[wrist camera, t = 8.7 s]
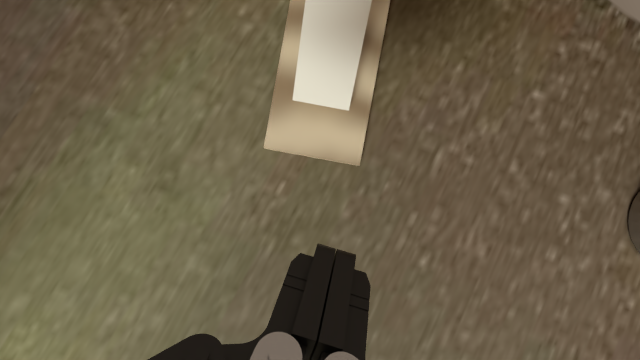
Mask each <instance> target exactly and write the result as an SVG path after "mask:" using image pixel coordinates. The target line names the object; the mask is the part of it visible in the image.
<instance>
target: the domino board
mask: <svg viewBox="0 0 640 360" xmlns="http://www.w3.org/2000/svg"><path fill="white" fill-rule="evenodd" d="M389 5H390V0H372V2H371V7H370V12H369V17H368V21H367V26H366V31H365V36H364V40H363V45H362V50H361V55H360V60H359V64H358V69H357V74H356V79H355V83H354V88H353V93H352V98H351V102H350V107H349V111H348V110H342V109H337V108H331V107H326V106H321V105H315V104H310V103H305V102H299V101H294V100H292V99H293V92H294V84H295V76H296V69H297V61H298V53H299V46H300V38H301V30H302V23H303V15H304V7H305V0H290V5H289V11H288V16H287V22H286V27H285V33H284V38H283V44H282V49H281V55H280V60H279V66H278V71H277V77H276V82H275V88H274V93H273V99H272V104H271V110H270V115H269V121H268V126H267V132H266V137H265V143H264V148H265V149H270V150H275V151H281V152H286V153H292V154H297V155H303V156H308V157H313V158H319V159H324V160H330V161H335V162H340V163H346V164H351V165H357V166H359V165H360V161H361V156H362V150H363V145H364V139H365V134H366V129H367V123H368V118H369V113H370V107H371V102H372V96H373V91H374V86H375V80H376V75H377V69H378V64H379V59H380V53H381V48H382V43H383V37H384V32H385V26H386V21H387V16H388V10H389Z"/></svg>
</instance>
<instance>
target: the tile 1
mask: <svg viewBox="0 0 640 360" xmlns="http://www.w3.org/2000/svg"><path fill="white" fill-rule="evenodd" d="M371 2H372V0H305V7H304V15H303V23H302V30H301V38H300V46H299V53H298V61H297V69H296V76H295V84H294V92H293V99H292V100H294V101H299V102H305V103H310V104H315V105H321V106H326V107H331V108H337V109H342V110H348V111H349V107H350V102H351V98H352V93H353V88H354V83H355V79H356V74H357V69H358V64H359V60H360V55H361V50H362V45H363V40H364V36H365V31H366V26H367V21H368V17H369V12H370V7H371Z"/></svg>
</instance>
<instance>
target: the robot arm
mask: <svg viewBox="0 0 640 360" xmlns="http://www.w3.org/2000/svg"><path fill="white" fill-rule="evenodd" d="M628 225H629V233H630V236H631V240H632V242H633V244H634V246H635V247H636V249H637V250H638V252H639V253H640V191H639V192H638V194H637V196H636V197H635V199H634V201H633V203H632V206H631V208H630V212H629V219H628ZM335 251H336V249H335V248H332V247H328V246H325V245H322V244H317V248H316V251H315V254H314V257H312V256H309V255H305V254H302V253H300V254H299V255H298V256H297V257H296V258H295V259H294V260H293V261H292V262H291V264H290V266H289V269H288V272H287V275H286V277H285V280H284V283H283V286H282V288H281V291H280V294H279V296H278V299H277V302H276V305H275V307H274V310H273V313H272V315H271V318H270V321H269V324H268V326H267V328H266V329H265V331H264V332H263V333H262V334H261V335H260V336H259V337H258V338H256V339H255V340H253V341H250V342H247V343H243V344H224V345H222V344H221V343H220V341H219V340H218V339H217V338H215V337H214V336H211V335H209V334H196V335H192V336H190V337H188V338H186V339H184V340H182V341H180V342H179V343H177V344H175V345H173V346H171V347H170V348H168V349H166V350H164V351H162V352H161V353H159V354H157V355H155V356H153V357H152V358H150V359H148V360H365V351H366V338H367V324H368V311H369V298H370V283H369V281H368V278H367V275H366V273H365V272H361V271H358V270H355V269H354V267H355V260H356V255H355V254H352V253H348V252H345V251H342V250H338V249H337V251H336V253H335Z"/></svg>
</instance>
